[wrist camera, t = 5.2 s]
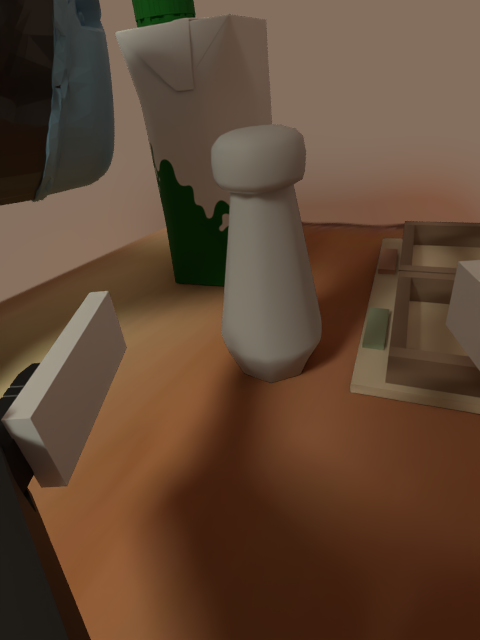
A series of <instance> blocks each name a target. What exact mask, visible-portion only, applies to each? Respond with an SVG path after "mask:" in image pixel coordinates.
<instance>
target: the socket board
mask: <svg viewBox="0 0 480 640" xmlns="http://www.w3.org/2000/svg"><path fill="white" fill-rule="evenodd" d="M471 260H480V223H456V222H414V221H413V222H411V221H405V225H404V234H403V239H398V238H383V241H382V245H381V250H380V254H379V259H378V263H377V268H376V272H375V276H374V281H373V285H372V290H371V294H370V299H369V303H368V308H367V312H366V317H365V321H364V326H363V330H362V335H361V339H360V344H359V348H358V353H357V357H356V361H355V366H354V370H353V375H352V379H351V385H350V392H353V393H359V394H365V395H371V396H377V397H383V398H389V399H394V400H400V401H406V402H412V403H418V404H424V405H430V406H436V407H441V408H447V409H453V410H459V411H465V412H471V413H477V414H480V371H479V369H478V368H477V366H476V365H475V364H474V362H473V361H472V360H471V358H470V357H469V356H468V354H467V353H466V352H465V350H464V349H463V348H462V346H461V345H460V343H459V342H458V341H457V339H456V338H455V337H454V335H453V334H452V333H451V331H450V330H449V329H448V327H447V326H446V320H447V315H448V310H449V305H450V300H451V295H452V290H453V285H454V280H455V276H456V271H457V266H458V262H459V261H471Z"/></svg>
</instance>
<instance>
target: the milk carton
mask: <svg viewBox="0 0 480 640" xmlns="http://www.w3.org/2000/svg"><path fill="white" fill-rule="evenodd" d="M132 3H133V8H134V13H135V18H136V22H137V27H138V28H134V29H129V30H123V31H119V32H116V38H117V41H118V43H119V46H120V49H121V51H122V54H123V57H124V59H125V62H126V65H127V67H128V70H129V73H130V75H131V78H132V81H133V83H134V86H135V89H136V92H137V94H138V97H139V100H140V104H141V107H142V111H143V116H144V121H145V125H146V130H147V135H148V140H149V144H150V149H151V154H152V159H153V163H154V168H155V173H156V177H157V182H158V187H159V192H160V197H161V202H162V206H163V211H164V216H165V221H166V227H167V233H168V239H169V245H170V251H171V257H172V263H173V270H174V276H175V282H176V283H187V284H200V285H213V286H225V273H226V258H227V244H228V229H229V210H230V192H229V191H226V190H223V189H221V188H220V187H219V186H218V185H217V183H216V181H215V179H214V176H213V171H212V166H211V148H212V146H213V145H214V143H215V142H216V140H217V139H218V138H219V137H220V136H221V135H223V134H225V133H227V132H229V131H232V130H235V129H239V128H244V127H250V126H258V125H272V115H271V97H270V82H269V67H268V50H267V49H268V47H267V30H266V29H267V28H266V20H265V19H259V18H252V17H245V16H238V15H231V14H228V15H222V16H216V17H210V18H195V9H194V2H193V0H132Z"/></svg>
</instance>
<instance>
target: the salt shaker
mask: <svg viewBox="0 0 480 640" xmlns="http://www.w3.org/2000/svg"><path fill="white" fill-rule="evenodd" d="M305 161H306V150H305V144H304V138H303V136H302V135H301V134H300V133H299V132H298V131H297V130H296V129H295V128H291V127H287V126H283V125H258V126H250V127H244V128H239V129H235V130H232V131H229V132H227V133H225V134H223V135H221V136H220V137H219V138H218V139H217V140H216V142H215V143H214V145H213V146H212V148H211V166H212V171H213V176H214V179H215V181H216V183H217V185H218V186H219V187H220V188H221V189H223V190H226V191H229V192H230V210H229V229H228V244H227V258H226V273H225V288H224V302H223V317H222V332H221V333H222V336H223V339H224V342H225V344H226V346H227V348H228V350H229V352H230V354H231V355H232V357H233V358H234V359H235V361H236V362H237V364H238V365H239V366H240V368H241V369H242V371H243V372H244V373H245V374H247V375H250V376H253V377H255V378H258V379H261V380H264V381H266V382H269V383H273V382H277V381H280V380H283V379H287V378H290V377H294V376H297V375H300V374H301V372H302V370H303V368H304V366H305V364H306V361H307V360H308V358H309V357H310V355H311V354H312V352H313V351H314V349H315V348H316V346H317V345H318V343H319V342H320V339H321V334H322V320H321V315H320V310H319V305H318V300H317V295H316V291H315V286H314V281H313V276H312V271H311V266H310V262H309V257H308V252H307V247H306V242H305V237H304V232H303V228H302V223H301V218H300V213H299V209H298V204H297V199H296V194H295V189H294V184H295V183H296V182H298V181H300V180H302V179H303V175H304V172H305Z"/></svg>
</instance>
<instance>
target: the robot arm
mask: <svg viewBox="0 0 480 640" xmlns="http://www.w3.org/2000/svg"><path fill="white" fill-rule="evenodd" d="M100 18H101V9H100V4H99V0H0V205H6V204H12V203H18V202H24V201H30V200H32V201H33V202H36V201H39V200H43V199H44V198H45V197H47V195H50V194H54V193H59V192H63V191H67V190H70V189H75V188H79V187H83V186H87V185H90V184H92V183H94V182H96V181H98V180H99V178H100V177H102V176H103V175H104V174H105V173H106V172H107V170H108V168H109V166H110V164H111V161H112V157H113V151H114V108H113V95H112V82H111V73H110V64H109V56H108V49H107V42H106V35H105V32H104V29H103V26H102V24H101V21H100ZM446 326H447V327H448V329H449V330H450V331H451V333H452V334H453V335H454V337H455V338H456V339H457V341H458V342H459V343H460V345H461V346H462V348H463V349H464V350H465V352H466V353H467V354H468V356H469V357H470V358H471V360H472V361H473V362H474V364H475V365H476V366H477V368H478V369H479V371H480V260H471V261H459V262H458V266H457V271H456V276H455V280H454V285H453V290H452V295H451V300H450V305H449V310H448V315H447V320H446ZM126 348H127V347H126V344H125V341H124V337H123V334H122V331H121V328H120V325H119V322H118V319H117V315H116V312H115V309H114V306H113V303H112V300H111V297H110V293H109V291H101V292H90V293H89V294H88V295H87V297H86V298H85V300H84V301H83V303H82V304H81V306H80V307H79V308H78V310H77V311H76V313H75V314H74V316H73V317H72V319H71V320H70V321H69V323H68V324H67V326H66V327H65V329H64V330H63V331H62V333H61V334H60V336H59V337H58V339H57V340H56V342H55V343H54V344H53V346H52V347H51V349H50V350H49V352H48V353H47V355H46V356H45V357H44V359H43V360H42V362H41V363H34V364H31V365H30V366H28V367H27V368H26V369H25V370H23V371H22V372H21V373H20V374H18V376H17V377H16V378H15V380H14V381H13V383H12V384H11V385H10V388H8V389H7V391H6V392H5V393H4V395H3V398H1V399H0V640H91V639H90V637H89V634H88V632H87V629H86V627H85V624H84V622H83V619H82V617H81V614H80V612H79V609H78V607H77V605H76V602H75V600H74V597H73V595H72V592H71V590H70V587H69V585H68V582H67V580H66V578H65V575H64V573H63V570H62V568H61V565H60V563H59V560H58V558H57V555H56V553H55V550H54V548H53V546H52V543H51V541H50V538H49V536H48V533H47V531H46V528H45V526H44V523H43V521H42V518H41V516H40V514H39V511H38V509H37V506H36V504H35V501H34V499H33V496H32V494H31V492H30V491H29V489H28V487H27V486H28V485H29V483H30V481H31V479H32V477H33V475H34V476H35V478H36V479H37V481H38V483H39V484H40V486H41V488H42V487H63V486H67V485H68V483H69V480H70V478H71V476H72V473H73V471H74V469H75V467H76V464H77V462H78V460H79V457H80V455H81V453H82V450H83V448H84V446H85V443H86V441H87V439H88V436H89V434H90V432H91V429H92V427H93V425H94V422H95V420H96V418H97V416H98V413H99V411H100V409H101V406H102V404H103V402H104V399H105V397H106V395H107V392H108V390H109V388H110V385H111V383H112V381H113V378H114V376H115V374H116V371H117V369H118V367H119V365H120V362H121V360H122V358H123V355H124V353H125V351H126Z"/></svg>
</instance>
